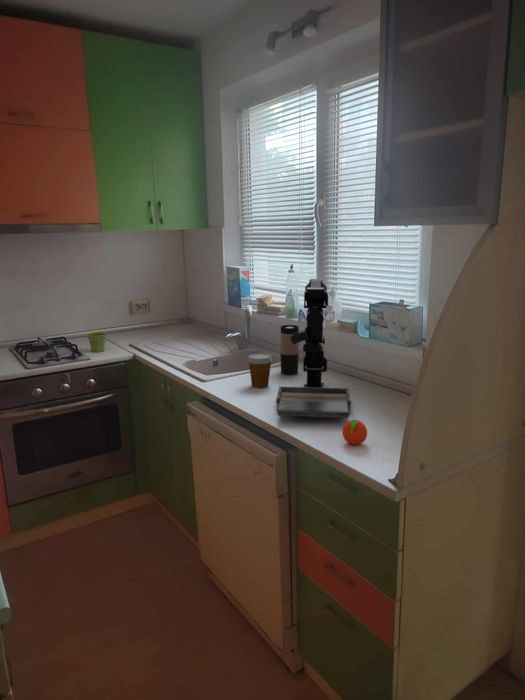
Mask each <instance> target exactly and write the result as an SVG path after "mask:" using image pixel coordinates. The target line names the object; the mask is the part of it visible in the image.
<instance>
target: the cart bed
mask: <svg viewBox="0 0 525 700" xmlns="http://www.w3.org/2000/svg"><path fill="white" fill-rule="evenodd" d="M276 395H277V396H276V399H275V400H276V402H275V403H276V405H277V411H278V408H279V404H280V401H310V402H345V403H347V406H348V411H349V413H350V409H351V408H350V407H351V406H352V398H351V393H350V388H349V387H345V388H343V387H321V388H316V387H304V386H279V387H278V391H277V394H276Z"/></svg>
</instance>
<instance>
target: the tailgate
mask: <svg viewBox="0 0 525 700" xmlns="http://www.w3.org/2000/svg"><path fill="white" fill-rule="evenodd" d="M277 416H281V417H282V416H285V417H287V416H289V417H314V418H315V417H318V418H321V417H322V418H350V412H349V411H348V406H347V403H345V402H310V401H280V404H279V408H278V410H277Z"/></svg>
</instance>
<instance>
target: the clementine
mask: <svg viewBox="0 0 525 700" xmlns="http://www.w3.org/2000/svg"><path fill="white" fill-rule="evenodd" d="M341 434H342V437H343V439H344V441H346V442H347V443H348V445H353V446H357V445H358V446H359V445H360V444H362V443H364V442H365V440H366V439H367V436H368V429H367V427H366V425H365V424H364V423H363V422H362V421H360V420H358V419H352V420H349V421H347V422H346V423H345V424H344V426H343V428H342V433H341Z"/></svg>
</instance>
